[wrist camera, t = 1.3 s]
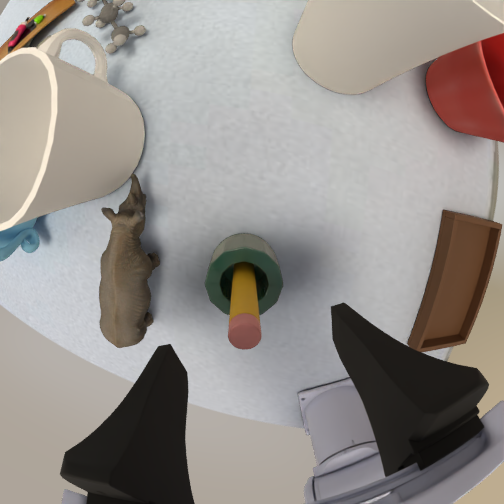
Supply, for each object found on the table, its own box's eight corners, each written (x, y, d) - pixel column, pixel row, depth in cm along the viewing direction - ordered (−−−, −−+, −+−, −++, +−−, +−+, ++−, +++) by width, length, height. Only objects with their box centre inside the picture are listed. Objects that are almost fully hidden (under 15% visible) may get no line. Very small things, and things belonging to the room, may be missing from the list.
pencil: (256, 273, 22) (264, 346, 13) (236, 278, 22) (233, 352, 13) (251, 255, 21) (257, 320, 12) (231, 260, 21) (224, 327, 12)
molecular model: (154, 46, 17) (142, 20, 12) (112, 70, 17) (90, 50, 12) (115, -28, 12) (103, -52, 8) (80, -8, 12) (63, -29, 8)
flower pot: (415, 30, 16) (473, -4, 6) (485, 85, 17) (544, 77, 7) (403, 112, 18) (480, 95, 9) (476, 163, 20) (545, 173, 10)
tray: (457, 335, 26) (465, 343, 24) (406, 343, 26) (414, 353, 24) (491, 220, 22) (502, 224, 20) (442, 209, 21) (455, 213, 19)
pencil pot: (281, 285, 23) (288, 308, 19) (221, 298, 23) (218, 323, 19) (268, 226, 21) (273, 239, 18) (204, 241, 22) (196, 258, 18)
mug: (59, 202, 20) (-37, 235, 9) (62, 78, 16) (-24, 51, 5) (149, 193, 20) (60, 226, 9) (153, 54, 16) (86, -18, 5)
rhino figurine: (175, 176, 20) (149, 180, 14) (158, 328, 24) (139, 369, 18) (127, 169, 19) (89, 173, 14) (119, 317, 23) (93, 355, 18)
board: (75, 3, 13) (70, -5, 11) (-9, 81, 12) (-17, 76, 11) (68, -10, 12) (63, -17, 11) (-8, 57, 12) (-14, 53, 11)
